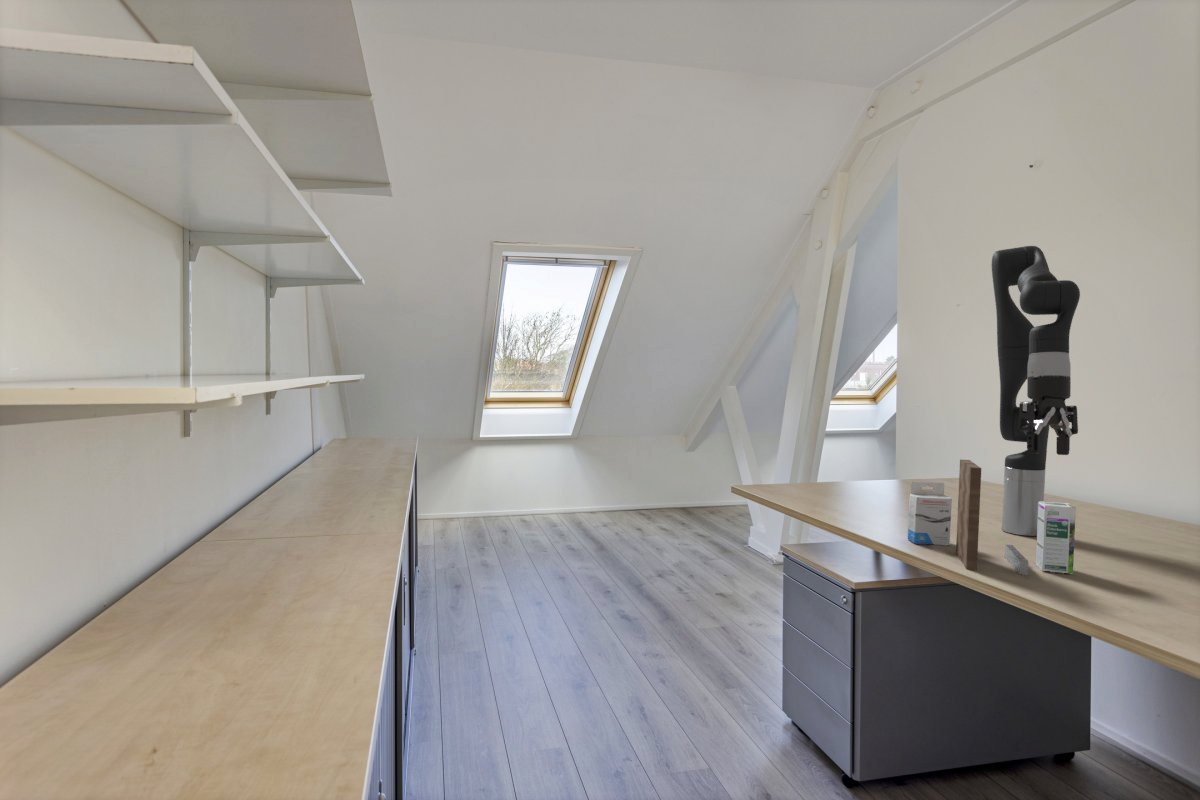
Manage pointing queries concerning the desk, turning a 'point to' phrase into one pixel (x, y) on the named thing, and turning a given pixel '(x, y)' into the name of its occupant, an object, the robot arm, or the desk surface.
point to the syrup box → (1055, 537)
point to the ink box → (929, 514)
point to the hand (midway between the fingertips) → (1048, 454)
